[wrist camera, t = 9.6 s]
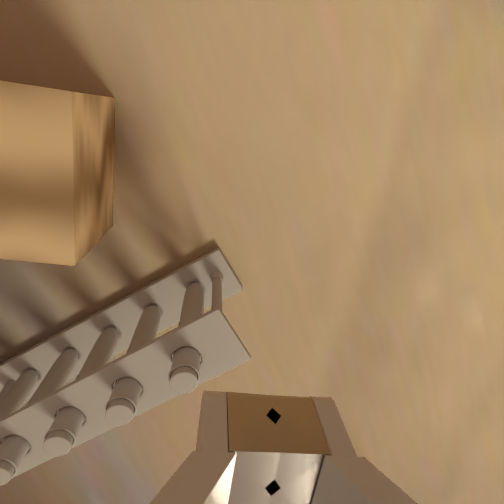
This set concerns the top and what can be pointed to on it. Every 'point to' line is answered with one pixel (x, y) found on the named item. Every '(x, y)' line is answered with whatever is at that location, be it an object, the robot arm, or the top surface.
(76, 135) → the oak block
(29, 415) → the test tube rack
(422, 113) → the top surface
